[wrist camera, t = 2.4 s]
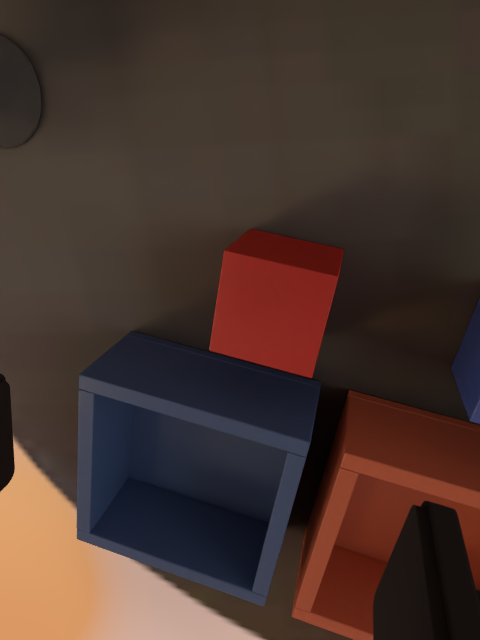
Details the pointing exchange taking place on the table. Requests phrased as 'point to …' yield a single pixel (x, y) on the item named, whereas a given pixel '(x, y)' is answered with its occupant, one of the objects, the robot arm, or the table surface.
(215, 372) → the blue bin
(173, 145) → the table surface
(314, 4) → the table surface
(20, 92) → the sundae
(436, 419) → the terracotta bin
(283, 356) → the red block
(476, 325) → the blue block
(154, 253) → the table surface
